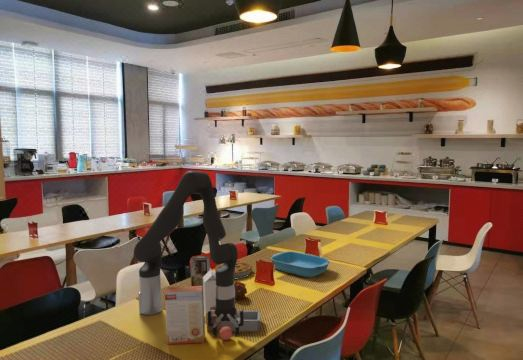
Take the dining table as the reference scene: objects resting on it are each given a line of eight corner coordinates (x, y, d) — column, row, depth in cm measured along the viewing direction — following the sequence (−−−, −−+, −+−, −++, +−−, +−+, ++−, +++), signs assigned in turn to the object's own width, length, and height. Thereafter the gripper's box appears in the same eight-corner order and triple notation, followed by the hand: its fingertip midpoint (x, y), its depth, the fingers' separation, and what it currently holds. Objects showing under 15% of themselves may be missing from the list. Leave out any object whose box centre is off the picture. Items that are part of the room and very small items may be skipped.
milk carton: (205, 314, 176) (204, 273, 173) (203, 308, 182) (202, 268, 180) (221, 312, 177) (220, 271, 175) (219, 306, 184) (217, 266, 182)
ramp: (207, 331, 160) (206, 316, 160) (210, 321, 169) (209, 306, 169) (223, 331, 160) (223, 316, 160) (226, 320, 169) (225, 306, 169)
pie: (209, 271, 234) (209, 262, 234) (243, 265, 244) (243, 257, 243) (221, 283, 215) (221, 274, 214) (258, 276, 224) (258, 268, 223)
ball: (219, 342, 151) (218, 330, 151) (220, 336, 156) (220, 324, 156) (232, 342, 151) (231, 330, 151) (233, 336, 156) (232, 324, 156)
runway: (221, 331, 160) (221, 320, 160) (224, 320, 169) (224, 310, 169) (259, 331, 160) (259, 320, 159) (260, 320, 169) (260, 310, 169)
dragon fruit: (243, 305, 189) (230, 300, 199) (254, 291, 193) (241, 287, 203) (233, 293, 186) (220, 289, 196) (244, 279, 190) (231, 276, 200)
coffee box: (211, 285, 211) (210, 256, 209) (208, 290, 204) (207, 259, 203) (194, 285, 212) (193, 255, 210) (190, 289, 205) (189, 259, 203)
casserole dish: (263, 268, 238) (263, 257, 237) (286, 259, 254) (286, 248, 253) (315, 282, 213) (315, 269, 212) (336, 271, 230) (336, 259, 229)
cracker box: (205, 335, 157) (203, 285, 155) (203, 343, 151) (201, 290, 149) (169, 336, 156) (167, 286, 154) (166, 344, 150) (164, 291, 148)
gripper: (205, 299, 148) (206, 340, 150) (243, 298, 148) (244, 340, 150) (208, 291, 156) (209, 331, 158) (244, 291, 156) (245, 330, 157)
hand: (226, 335), depth 154 cm, fingers open, 7 cm apart
